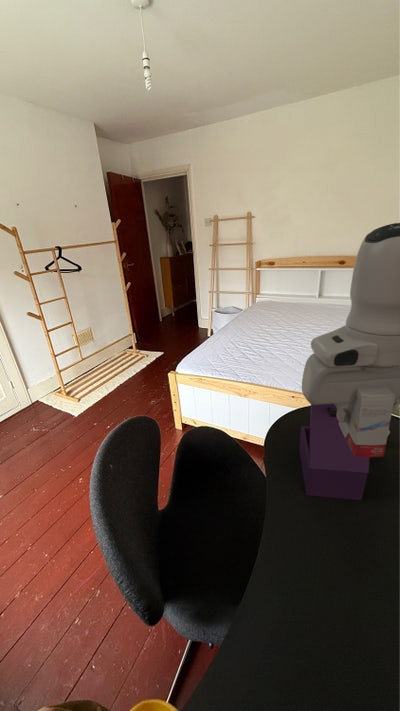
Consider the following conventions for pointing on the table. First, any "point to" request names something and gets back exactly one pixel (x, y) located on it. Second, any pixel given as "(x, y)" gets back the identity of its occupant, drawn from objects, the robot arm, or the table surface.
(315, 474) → the box
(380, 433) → the ink box
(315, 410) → the lid
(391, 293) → the robot arm
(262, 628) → the table surface
